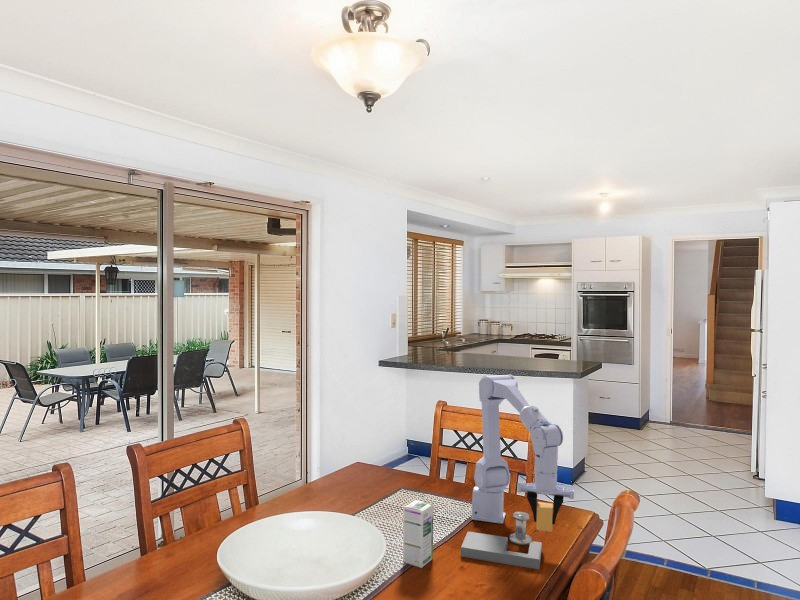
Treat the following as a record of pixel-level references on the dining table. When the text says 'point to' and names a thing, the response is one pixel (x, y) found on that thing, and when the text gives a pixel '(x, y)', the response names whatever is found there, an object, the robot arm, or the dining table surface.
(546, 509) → the tab block
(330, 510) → the dining table surface
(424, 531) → the syrup box
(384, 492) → the dining table surface
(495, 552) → the board
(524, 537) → the bobbin post
